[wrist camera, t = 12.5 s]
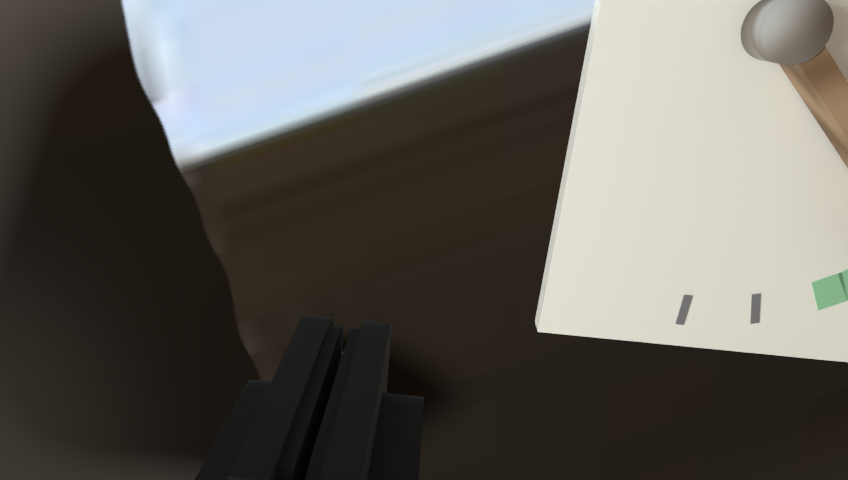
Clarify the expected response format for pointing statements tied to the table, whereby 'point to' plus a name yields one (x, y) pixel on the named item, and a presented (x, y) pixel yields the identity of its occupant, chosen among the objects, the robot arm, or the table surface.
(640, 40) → the dial board
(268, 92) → the table surface
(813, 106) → the pointer
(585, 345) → the table surface
